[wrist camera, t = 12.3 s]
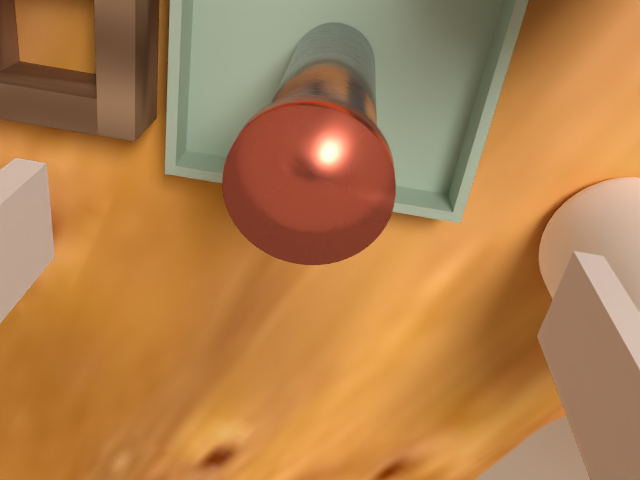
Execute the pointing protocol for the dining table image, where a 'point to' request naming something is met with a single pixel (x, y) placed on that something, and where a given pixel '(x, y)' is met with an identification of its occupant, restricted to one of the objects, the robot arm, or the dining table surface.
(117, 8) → the socket block
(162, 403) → the dining table surface
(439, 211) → the tray
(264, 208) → the pin
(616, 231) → the wine bottle
